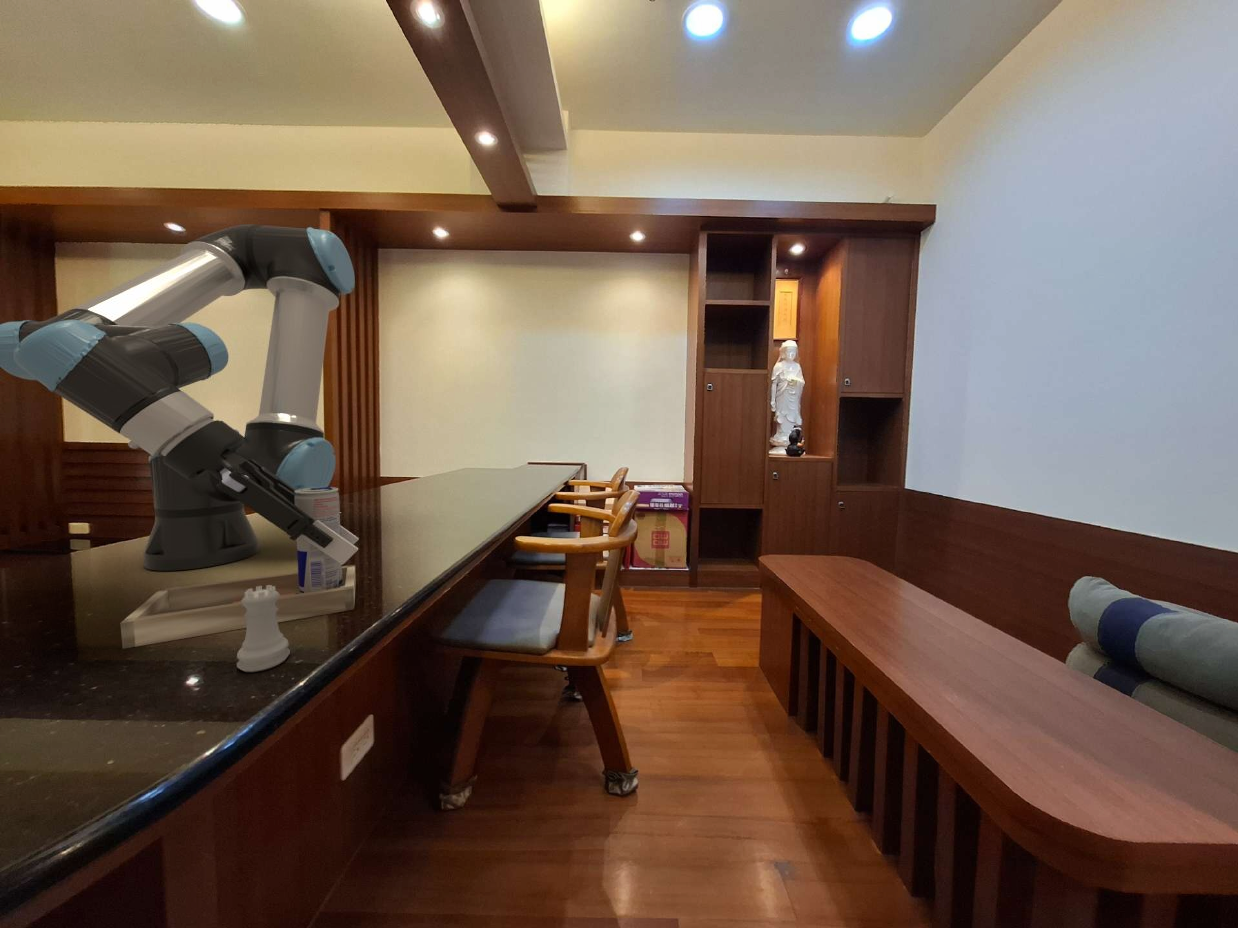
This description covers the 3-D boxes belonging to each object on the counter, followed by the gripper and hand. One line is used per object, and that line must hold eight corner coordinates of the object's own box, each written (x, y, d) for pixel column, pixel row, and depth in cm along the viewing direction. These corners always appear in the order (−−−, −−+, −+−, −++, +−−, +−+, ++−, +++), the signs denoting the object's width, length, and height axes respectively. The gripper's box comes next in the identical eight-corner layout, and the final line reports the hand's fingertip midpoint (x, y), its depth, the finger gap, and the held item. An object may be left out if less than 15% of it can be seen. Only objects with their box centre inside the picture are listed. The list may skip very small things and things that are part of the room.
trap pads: (233, 603, 60) (233, 601, 60) (295, 594, 64) (295, 592, 64) (215, 628, 53) (215, 626, 53) (287, 617, 57) (287, 614, 57)
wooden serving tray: (162, 610, 58) (160, 589, 57) (355, 582, 69) (354, 564, 68) (122, 648, 48) (120, 622, 48) (354, 609, 59) (353, 588, 59)
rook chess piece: (260, 676, 44) (255, 600, 43) (224, 670, 44) (219, 595, 44) (301, 653, 48) (297, 583, 47) (268, 648, 49) (264, 580, 48)
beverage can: (337, 582, 65) (333, 484, 64) (346, 592, 62) (342, 488, 60) (296, 591, 62) (291, 487, 60) (302, 602, 58) (297, 492, 57)
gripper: (187, 454, 60) (333, 554, 70) (125, 467, 44) (325, 593, 54) (235, 417, 62) (370, 518, 72) (191, 417, 47) (372, 547, 56)
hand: (350, 550), depth 63 cm, fingers open, 5 cm apart
